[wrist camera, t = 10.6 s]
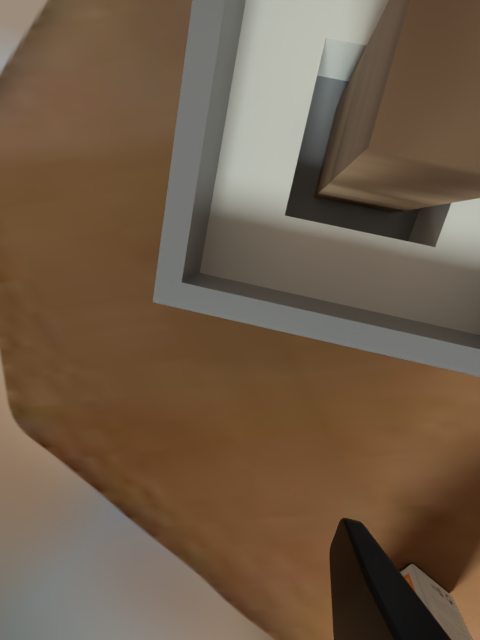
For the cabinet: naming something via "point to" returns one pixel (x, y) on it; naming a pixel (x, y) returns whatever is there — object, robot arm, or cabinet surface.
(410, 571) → the skincare box
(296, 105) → the peg socket
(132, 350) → the cabinet surface
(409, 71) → the walnut peg
